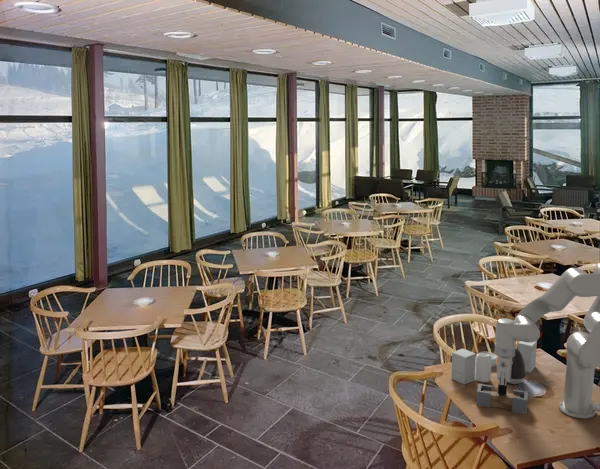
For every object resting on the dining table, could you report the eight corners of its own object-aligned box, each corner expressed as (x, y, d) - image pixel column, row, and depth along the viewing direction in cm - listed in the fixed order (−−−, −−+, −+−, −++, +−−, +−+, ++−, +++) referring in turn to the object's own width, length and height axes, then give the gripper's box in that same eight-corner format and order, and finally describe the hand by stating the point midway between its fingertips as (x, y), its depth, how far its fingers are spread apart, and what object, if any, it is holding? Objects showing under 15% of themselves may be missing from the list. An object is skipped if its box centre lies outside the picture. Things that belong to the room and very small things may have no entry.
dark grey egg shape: (495, 381, 229) (497, 348, 226) (507, 373, 236) (509, 342, 233) (517, 389, 222) (520, 356, 219) (529, 381, 228) (531, 348, 225)
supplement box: (475, 380, 231) (476, 353, 228) (464, 385, 227) (465, 357, 224) (461, 374, 237) (462, 347, 234) (450, 378, 233) (451, 352, 230)
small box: (521, 363, 246) (522, 337, 244) (535, 366, 242) (537, 340, 240) (515, 369, 240) (517, 342, 237) (530, 373, 236) (532, 346, 233)
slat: (519, 406, 209) (520, 394, 208) (520, 410, 206) (520, 399, 205) (482, 401, 214) (482, 390, 213) (482, 405, 210) (482, 394, 209)
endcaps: (526, 405, 209) (527, 391, 208) (526, 414, 203) (527, 400, 202) (478, 397, 216) (478, 383, 215) (476, 405, 210) (477, 391, 209)
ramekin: (500, 366, 243) (500, 357, 242) (483, 369, 241) (484, 360, 240) (488, 358, 252) (488, 350, 251) (472, 361, 249) (472, 352, 248)
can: (491, 383, 227) (492, 357, 225) (475, 382, 229) (477, 356, 226) (489, 376, 234) (490, 351, 231) (474, 375, 235) (475, 350, 232)
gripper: (514, 359, 197) (511, 404, 200) (516, 344, 210) (513, 386, 214) (493, 356, 200) (490, 400, 203) (496, 341, 213) (493, 383, 217)
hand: (502, 393), depth 209 cm, fingers closed
